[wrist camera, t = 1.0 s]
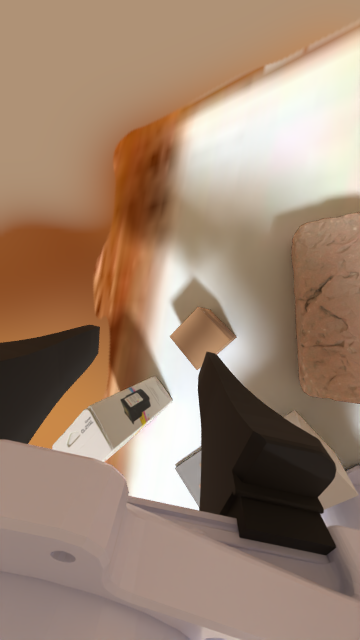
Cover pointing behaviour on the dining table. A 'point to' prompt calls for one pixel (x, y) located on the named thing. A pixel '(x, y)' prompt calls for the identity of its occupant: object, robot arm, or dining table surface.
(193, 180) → the dining table surface
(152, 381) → the ink box
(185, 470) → the card
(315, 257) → the brick
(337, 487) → the cream cube
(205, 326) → the walnut block
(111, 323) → the dining table surface
